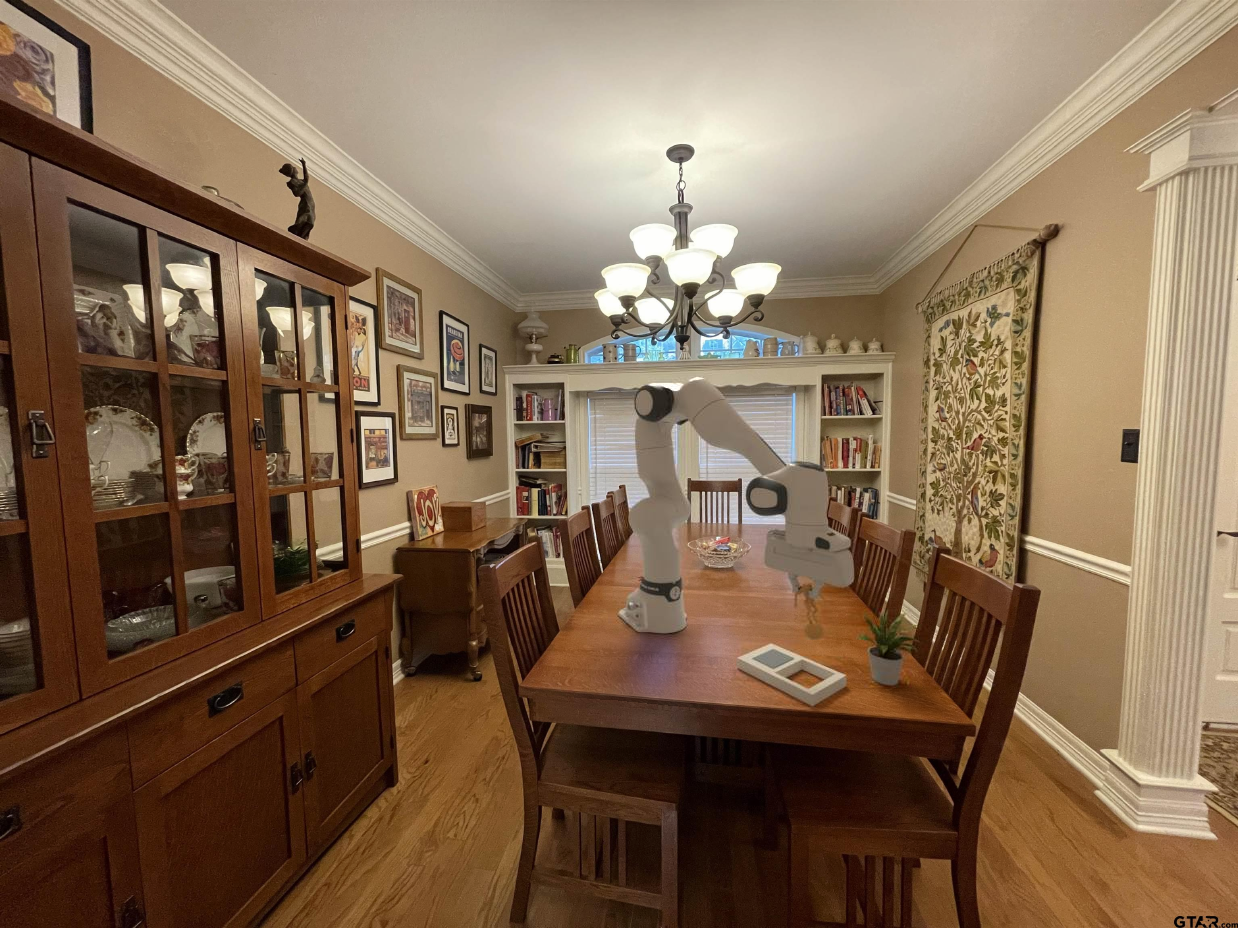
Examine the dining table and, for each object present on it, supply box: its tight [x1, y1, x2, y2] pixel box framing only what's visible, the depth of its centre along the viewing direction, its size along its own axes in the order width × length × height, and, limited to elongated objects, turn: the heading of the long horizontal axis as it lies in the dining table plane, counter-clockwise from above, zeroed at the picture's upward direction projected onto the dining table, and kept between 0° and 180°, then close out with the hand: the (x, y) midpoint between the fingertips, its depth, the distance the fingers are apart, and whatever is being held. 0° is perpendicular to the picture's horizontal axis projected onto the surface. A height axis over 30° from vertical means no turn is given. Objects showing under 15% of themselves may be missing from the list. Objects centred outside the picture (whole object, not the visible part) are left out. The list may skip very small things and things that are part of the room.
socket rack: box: [736, 643, 847, 707], centre depth 109 cm, size 20×13×3 cm, turn 35°
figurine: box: [793, 583, 827, 641], centre depth 104 cm, size 8×6×12 cm
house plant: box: [847, 609, 922, 686], centre depth 106 cm, size 14×14×16 cm
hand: (805, 595), depth 105 cm, fingers closed on figurine, 3 cm apart
